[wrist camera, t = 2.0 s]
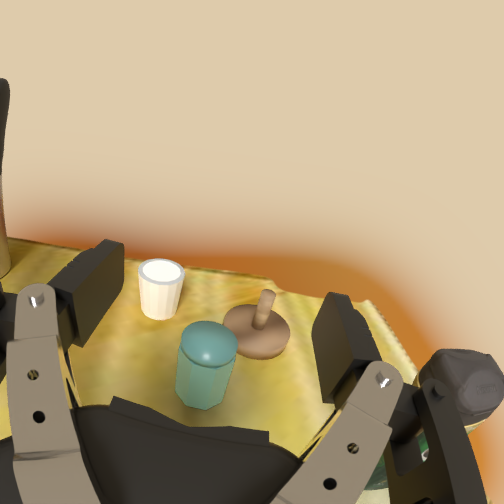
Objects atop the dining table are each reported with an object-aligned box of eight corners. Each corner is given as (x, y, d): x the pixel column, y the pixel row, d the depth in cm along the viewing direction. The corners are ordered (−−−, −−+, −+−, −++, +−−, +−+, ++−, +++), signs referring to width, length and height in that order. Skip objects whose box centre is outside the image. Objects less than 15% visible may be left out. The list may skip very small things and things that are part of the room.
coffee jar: (397, 436, 28) (488, 338, 20) (409, 484, 21) (523, 392, 13) (336, 440, 27) (430, 331, 19) (344, 496, 20) (470, 405, 12)
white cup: (187, 303, 44) (192, 267, 41) (168, 329, 38) (172, 290, 35) (150, 289, 45) (153, 253, 42) (129, 311, 39) (128, 273, 36)
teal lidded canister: (167, 381, 30) (171, 330, 26) (204, 366, 34) (215, 315, 30) (194, 416, 27) (203, 370, 23) (232, 396, 31) (249, 348, 27)
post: (208, 325, 41) (217, 281, 38) (255, 307, 48) (268, 268, 45) (252, 370, 35) (269, 327, 32) (298, 343, 42) (317, 303, 39)
